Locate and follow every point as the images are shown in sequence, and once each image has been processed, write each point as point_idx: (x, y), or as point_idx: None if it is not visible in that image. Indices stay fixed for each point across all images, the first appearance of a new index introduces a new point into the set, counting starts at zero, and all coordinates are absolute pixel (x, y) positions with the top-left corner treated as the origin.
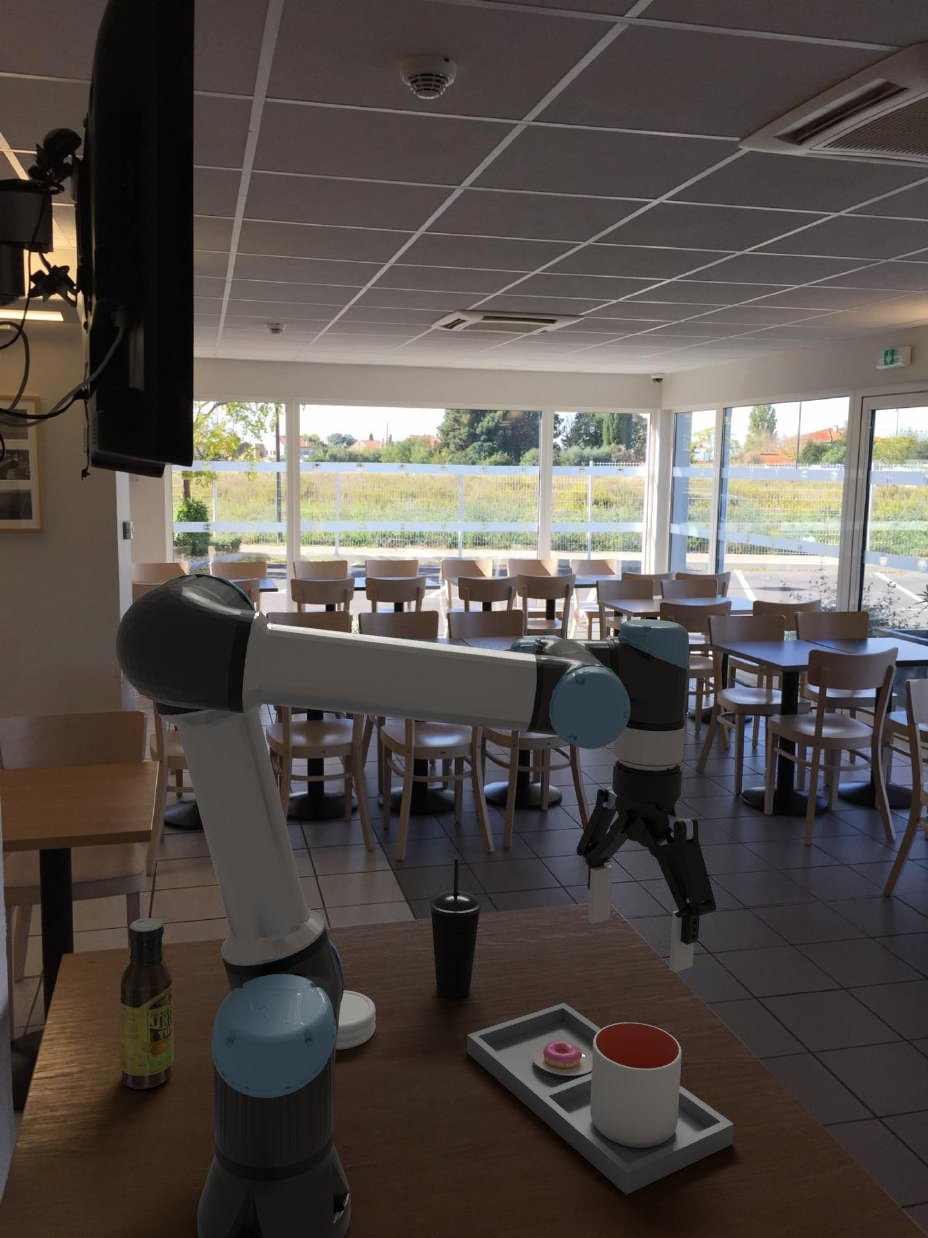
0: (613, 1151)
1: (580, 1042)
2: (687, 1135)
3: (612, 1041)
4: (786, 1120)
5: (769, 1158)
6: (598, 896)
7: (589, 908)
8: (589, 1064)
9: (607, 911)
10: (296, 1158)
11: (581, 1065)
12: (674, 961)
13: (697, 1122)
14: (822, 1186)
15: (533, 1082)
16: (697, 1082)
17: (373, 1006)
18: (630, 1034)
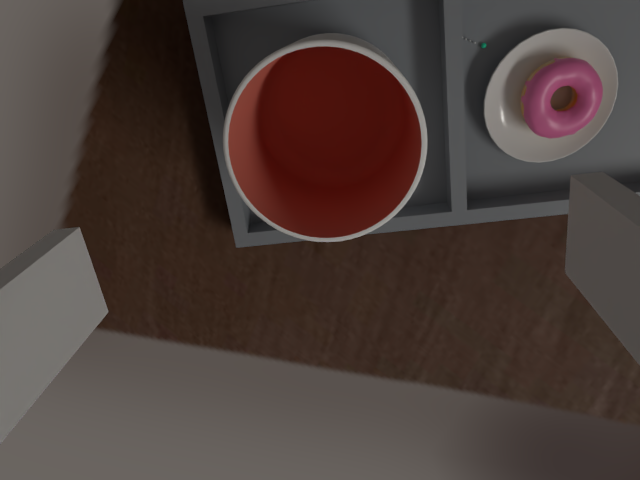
0: (284, 37)
1: (589, 168)
2: None
3: (416, 137)
4: (262, 333)
5: (200, 259)
6: (631, 260)
7: (629, 193)
8: (515, 140)
9: (581, 276)
10: None
11: (522, 125)
12: (30, 248)
13: None
14: (130, 282)
15: (531, 3)
16: (393, 283)
17: None
18: (405, 182)
